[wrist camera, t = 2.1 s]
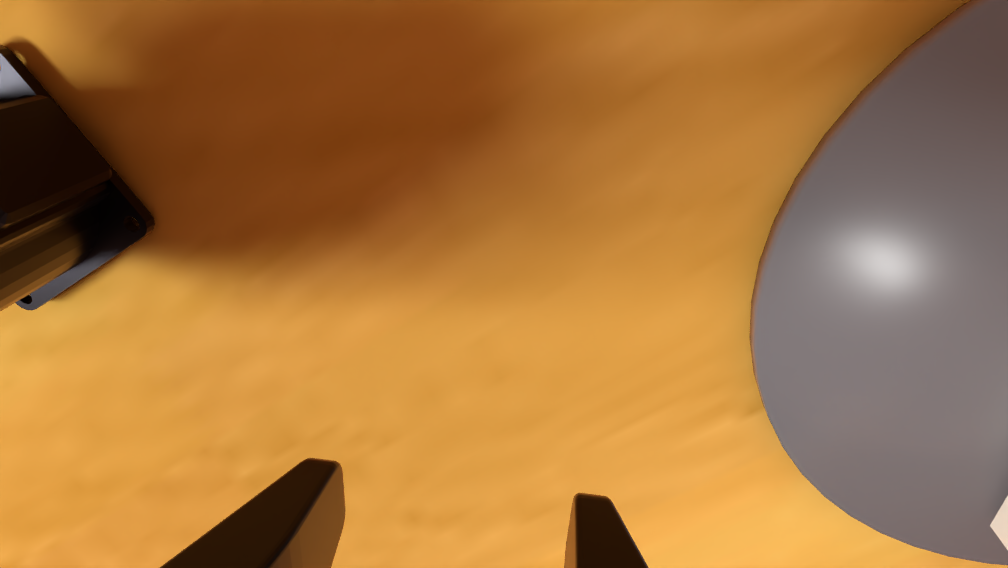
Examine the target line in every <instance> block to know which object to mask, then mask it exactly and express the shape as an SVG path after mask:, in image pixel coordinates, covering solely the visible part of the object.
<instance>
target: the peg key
mask: <svg viewBox="0 0 1008 568" xmlns="http://www.w3.org/2000/svg"><path fill="white" fill-rule="evenodd" d="M990 527H991V528H992V529H993V531H994V532H995V533H996V535H997V536H998V538H999V539H1000V540H1001V542H1002V543H1003V545H1004V546H1005V547H1006V549H1007V550H1008V496H1007V497H1006V499H1005V501H1004V503H1003V504H1002V506H1001V508H1000V509H999V511H998V513H997V514H996V516H995V518H994V519H993V521H992V523H991V525H990Z"/></svg>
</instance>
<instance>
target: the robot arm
mask: <svg viewBox="0 0 1008 568" xmlns="http://www.w3.org/2000/svg"><path fill="white" fill-rule="evenodd" d="M0 67H1V70H0V311H2V310H3V309H5V308H7V307H8V306H10V305H12V304H14V303H16V304H17V305H19V306H20V307H21V308H24V309H26V310H34V309H37V308H38V307H40V306H42V305H43V304H45V303H46V302H48V301H49V300H51V299H52V298H54V297H55V296H57V295H58V294H60V293H61V292H63V291H64V290H66V289H67V288H69V287H70V286H72V285H73V284H75V283H76V282H78V281H79V280H81V279H82V278H84V277H85V276H87V275H88V274H90V273H91V272H93V271H94V270H96V269H97V268H99V267H100V266H102V265H103V264H104V263H106V262H107V261H109V260H110V259H112V258H113V257H115V256H116V255H118V254H119V253H121V252H122V251H124V250H125V249H127V248H128V247H130V246H131V245H133V244H134V243H136V242H137V241H139V240H140V239H142V238H143V237H145V236H146V235H148V234H149V233H151V232H152V230H153V229H154V225H155V222H154V218H153V216H152V215H151V213H150V212H149V211H148V210H147V208H146V207H145V206H144V205H143V204H142V203H141V201H140V200H139V199H138V198H137V197H136V196H135V194H134V193H133V192H132V191H131V190H130V189H129V187H128V186H127V185H126V184H125V183H124V182H123V180H122V179H121V178H120V177H119V176H118V175H117V173H116V172H115V171H114V170H113V169H112V168H111V166H110V165H109V164H108V163H107V162H106V161H105V159H104V158H103V157H102V156H101V155H100V154H99V152H98V151H97V150H96V149H95V148H94V147H93V145H92V144H91V143H90V142H89V141H88V140H87V138H86V137H85V136H84V135H83V134H82V133H81V131H80V130H79V129H78V128H77V127H76V126H75V124H74V123H73V122H72V121H71V120H70V119H69V117H68V116H67V115H66V114H65V113H64V112H63V110H62V109H61V108H60V107H59V106H58V105H57V103H56V102H55V101H54V100H53V99H52V98H51V96H50V95H49V94H48V93H47V92H46V91H45V89H44V88H43V87H42V86H41V85H40V84H39V82H38V81H37V80H36V79H35V78H34V77H33V75H32V74H31V73H30V72H29V71H28V70H27V68H26V67H25V66H24V65H23V64H22V62H21V61H20V60H19V59H18V58H17V57H16V55H15V54H14V53H13V52H12V51H10V50H9V49H8V48H6V47H4V46H2V45H0ZM132 217H133V218H134V219H136V220H137V221H138V223H139V226H137V225H135V224H134V222H133V221H132ZM29 294H30V295H29ZM344 520H345V498H344V485H343V472H342V467H341V465H340V464H339V463H338V462H336V461H331V460H323V459H315V458H308V459H306V460H303V461H302V462H300V463H299V464H298V465H296V466H295V467H294V468H292V469H291V470H290V471H288V472H287V473H286V474H284V475H283V476H282V477H280V478H279V479H278V480H276V481H275V482H274V483H272V484H271V485H270V486H268V487H267V488H266V489H264V490H263V491H262V492H260V493H259V494H258V495H256V496H255V497H254V498H252V499H251V500H250V501H248V502H247V503H246V504H244V505H243V506H242V507H240V508H239V509H238V510H236V511H235V512H234V513H232V514H231V515H230V516H228V517H227V518H226V519H224V520H223V521H222V522H220V523H219V524H218V525H216V526H215V527H214V528H212V529H211V530H209V531H208V532H207V533H205V534H204V535H203V536H201V537H200V538H199V539H197V540H196V541H195V542H193V543H192V544H191V545H189V546H188V547H187V548H185V549H184V550H183V551H181V552H180V553H179V554H177V555H176V556H175V557H173V558H172V559H171V560H169V561H168V562H167V563H165V564H164V565H163V566H161V567H160V568H331V566H332V563H333V559H334V556H335V553H336V549H337V546H338V543H339V540H340V536H341V533H342V529H343V525H344ZM564 568H648V566H647V564H646V562H645V561H644V559H643V557H642V555H641V553H640V551H639V550H638V548H637V546H636V544H635V542H634V541H633V539H632V537H631V535H630V533H629V532H628V530H627V528H626V526H625V524H624V523H623V521H622V519H621V517H620V515H619V513H618V512H617V510H616V508H615V506H614V504H613V503H612V501H611V500H610V499H609V498H608V497H606V496H600V495H593V494H585V493H578V494H576V495H575V496H574V499H573V503H572V510H571V516H570V523H569V529H568V535H567V542H566V551H565V564H564Z"/></svg>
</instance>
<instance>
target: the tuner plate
mask: <svg viewBox="0 0 1008 568" xmlns="http://www.w3.org/2000/svg"><path fill="white" fill-rule="evenodd" d="M750 345H751V354H752V363H753V371H754V375H755V378H756V382H757V385H758V389H759V392H760V396H761V399H762V402H763V405H764V408H765V410H766V412H767V415H768V417H769V420H770V422H771V424H772V426H773V428H774V430H775V432H776V434H777V436H778V438H779V440H780V442H781V444H782V446H783V448H784V449H785V451H786V452H787V454H788V455H789V456H790V458H791V459H792V461H793V462H794V463H795V465H796V466H797V468H798V469H799V470H800V472H801V473H802V474H803V475H804V476H805V477H806V478H807V479H808V480H809V481H810V482H811V483H812V484H813V485H814V486H815V487H816V488H817V489H818V490H819V491H820V492H821V494H822V495H823V496H824V497H826V498H827V499H828V500H830V501H831V502H832V503H834V504H835V505H836V506H838V507H839V508H840V509H842V510H843V511H844V512H846V513H847V514H848V515H850V516H851V517H853V518H855V519H857V520H858V521H860V522H862V523H864V524H866V525H867V526H869V527H871V528H873V529H875V530H876V531H878V532H880V533H882V534H885V535H887V536H889V537H892V538H894V539H897V540H899V541H902V542H904V543H907V544H909V545H912V546H914V547H918V548H921V549H925V550H928V551H932V552H935V553H939V554H942V555H946V556H949V557H955V558H960V559H966V560H972V561H977V562H983V563H989V564H1000V565H1008V550H1007V549H1006V547H1005V546H1004V545H1003V543H1002V542H1001V540H1000V539H999V538H998V536H997V535H996V533H995V532H994V531H993V529H992V528H991V527H990V525H991V523H992V521H993V519H994V518H995V516H996V514H997V513H998V511H999V509H1000V508H1001V506H1002V504H1003V503H1004V501H1005V499H1006V497H1007V496H1008V0H971V1H969V2H967V3H966V4H964V5H963V6H961V7H960V8H958V9H957V10H955V11H954V12H953V13H951V14H950V15H949V16H948V17H946V18H945V19H944V20H942V21H941V22H940V23H939V24H937V25H936V26H935V27H934V28H932V29H931V30H930V31H928V32H927V33H926V34H925V35H923V36H922V37H921V38H919V39H918V40H917V41H916V42H914V43H913V44H912V45H910V46H909V47H908V48H907V49H905V50H904V51H903V52H902V53H901V54H900V55H899V56H898V57H897V58H896V59H895V60H894V61H893V62H892V63H891V64H890V65H889V66H888V67H887V68H885V69H884V70H883V71H882V72H881V73H880V74H879V75H878V76H877V77H876V78H875V79H874V80H873V81H872V82H871V83H870V84H869V85H868V86H867V87H866V88H865V89H864V90H862V91H861V93H860V94H859V95H858V96H857V97H856V98H855V100H854V101H853V102H852V103H851V104H850V106H849V107H848V108H847V109H846V110H845V111H844V113H843V114H842V115H841V116H840V117H839V119H838V120H837V121H836V122H835V123H834V124H833V126H832V127H831V128H830V129H829V130H828V132H827V133H826V134H825V135H824V137H823V138H822V140H821V141H820V143H819V144H818V146H817V147H816V148H815V150H814V151H813V153H812V154H811V156H810V157H809V159H808V160H807V162H806V163H805V165H804V166H803V168H802V169H801V171H800V172H799V174H798V175H797V177H796V178H795V180H794V182H793V184H792V186H791V188H790V190H789V192H788V194H787V196H786V198H785V200H784V202H783V204H782V206H781V208H780V210H779V212H778V214H777V216H776V218H775V220H774V222H773V225H772V227H771V230H770V233H769V236H768V239H767V241H766V244H765V247H764V250H763V253H762V256H761V258H760V261H759V266H758V271H757V276H756V280H755V285H754V290H753V295H752V300H751V319H750Z"/></svg>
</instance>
